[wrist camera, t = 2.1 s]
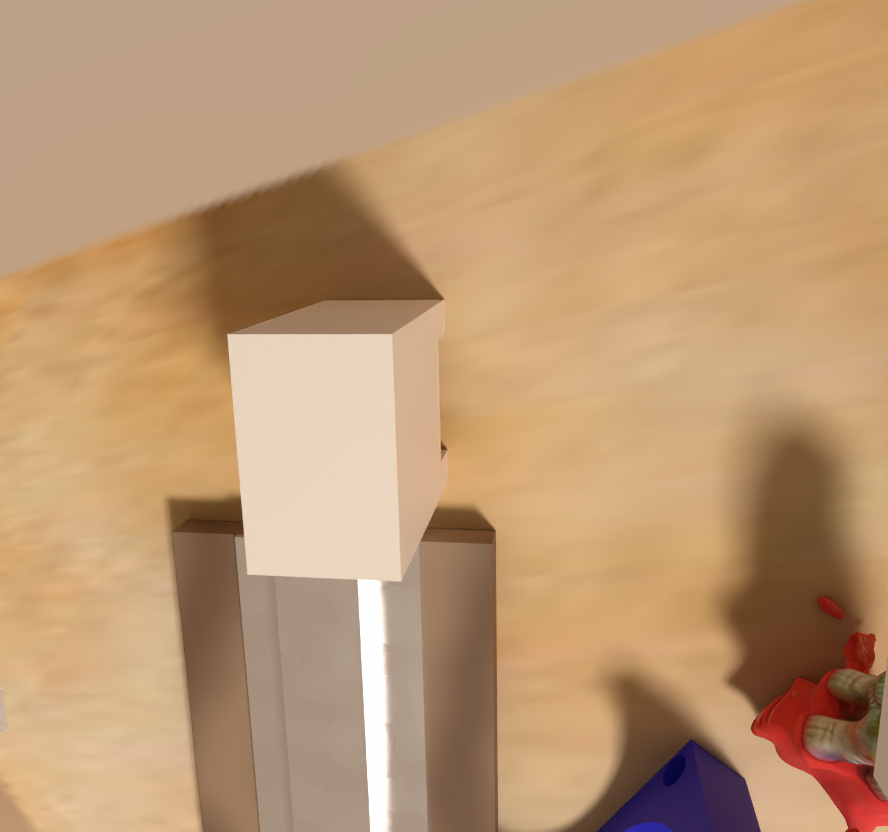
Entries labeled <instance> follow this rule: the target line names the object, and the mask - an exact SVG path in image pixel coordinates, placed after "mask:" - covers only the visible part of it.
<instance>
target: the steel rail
mask: <svg viewBox="0 0 888 832" xmlns="http://www.w3.org/2000/svg"><path fill="white" fill-rule="evenodd" d="M235 546H236V558H237V569H238V581H239V592H240V604H241V616H242V627H243V639H244V650H245V662H246V673H247V685H248V696H249V708H250V719H251V731H252V742H253V754H254V766H255V777H256V789H257V800H258V812H259V823H260V832H429V809H428V777H427V744H426V712H425V679H424V647H423V614H422V582H421V549H420V543H419V545H418V547H417V549H416V551H415V553H414V555H413V558H412V560H411V562H410V564H409V566H408V568H407V570H406V573H405V575H404V577H403V579H402V581H401V582H399V581H377V580H355V579H333V578H310V577H288V576H266V575H247V563H246V551H245V539H244V535H239V534H237V535H236V536H235Z"/></svg>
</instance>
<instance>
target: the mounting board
mask: <svg viewBox="0 0 888 832" xmlns="http://www.w3.org/2000/svg"><path fill="white" fill-rule="evenodd" d="M237 534H239V535H244V527H243V522H236V521H208V520H187V521H185V522H184V523H183V524H182V525H180V526H179V527H178V528H176V529H175V530H174V531H173V532H172V536H173V546H174V555H175V565H176V574H177V584H178V593H179V602H180V612H181V621H182V631H183V640H184V650H185V659H186V669H187V678H188V688H189V697H190V707H191V716H192V726H193V735H194V745H195V754H196V764H197V773H198V783H199V792H200V802H201V811H202V821H203V830H204V832H260V823H259V812H258V800H257V789H256V777H255V766H254V754H253V742H252V731H251V719H250V708H249V696H248V685H247V673H246V662H245V650H244V639H243V627H242V616H241V604H240V592H239V581H238V569H237V558H236V546H235V536H236V535H237ZM420 549H421V582H422V614H423V647H424V679H425V712H426V744H427V777H428V809H429V832H498V776H497V651H496V531H491V530H463V529H434V528H426V530H425V532H424V534H423V536H422V538H421V541H420Z"/></svg>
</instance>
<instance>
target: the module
mask: <svg viewBox="0 0 888 832" xmlns="http://www.w3.org/2000/svg"><path fill="white" fill-rule="evenodd" d="M444 335H445V307H444V300H324V301H322V302H319V303H316V304H313V305H310V306H307V307H304V308H301V309H299V310H296V311H293V312H290V313H287V314H284V315H281V316H279V317H276V318H273V319H270V320H267V321H264V322H261V323H258V324H256V325H253V326H250V327H247V328H244V329H241V330H238V331H235V332H233V333H230V334H227V336H228V348H229V360H230V372H231V384H232V396H233V408H234V420H235V432H236V444H237V456H238V467H239V479H240V491H241V503H242V515H243V527H244V539H245V551H246V563H247V575H266V576H288V577H310V578H333V579H355V580H377V581H399V582H401V581H402V579H403V577H404V575H405V573H406V570H407V568H408V566H409V564H410V562H411V560H412V558H413V555H414V553H415V551H416V549H417V547H418V545H419V543H420V541H421V538H422V536H423V534H424V532H425V530H426V528H427V526H428V524H429V521H430V519H431V517H432V515H433V513H434V511H435V509H436V507H437V504H438V502H439V500H440V498H441V496H442V494H443V492H444V489H445V487H446V485H447V483H448V450H441V439H440V398H439V356H438V340H439V339H440V338H441V337H442V336H444Z"/></svg>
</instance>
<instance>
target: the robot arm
mask: <svg viewBox="0 0 888 832" xmlns="http://www.w3.org/2000/svg"><path fill="white" fill-rule="evenodd" d="M7 727H8V726H7V720H6V713H5V707H4V701H3V694H2V688H1V682H0V734H1V733H2V732H3V731H4V730H5V729H6V728H7ZM873 776H874V778H875V780H876V781H877V783H878V785H879V786H880V788H881V790H882V791H883V793H884V795H885V796H886V798H887V800H888V660H887V668H886V676H885V684H884V693H883V701H882V709H881V717H880V726H879V734H878V742H877V750H876V759H875V767H874V775H873Z"/></svg>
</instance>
